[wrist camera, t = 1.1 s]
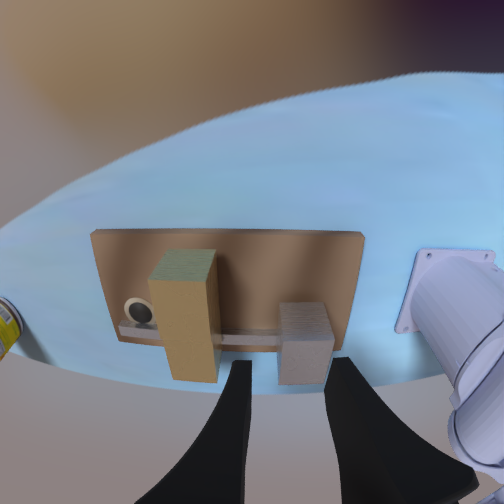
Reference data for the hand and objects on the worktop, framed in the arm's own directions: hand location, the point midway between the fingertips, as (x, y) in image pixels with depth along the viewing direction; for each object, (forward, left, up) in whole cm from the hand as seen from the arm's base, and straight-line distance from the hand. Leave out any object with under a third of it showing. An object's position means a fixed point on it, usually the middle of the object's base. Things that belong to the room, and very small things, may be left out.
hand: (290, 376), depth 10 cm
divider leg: (+5, +2, -9) cm, 11 cm away
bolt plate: (+4, +3, -10) cm, 12 cm away
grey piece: (+4, +4, -9) cm, 11 cm away
